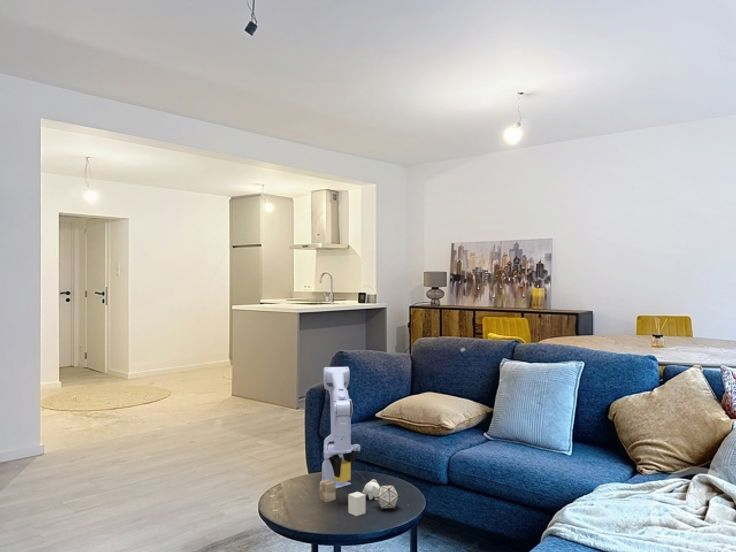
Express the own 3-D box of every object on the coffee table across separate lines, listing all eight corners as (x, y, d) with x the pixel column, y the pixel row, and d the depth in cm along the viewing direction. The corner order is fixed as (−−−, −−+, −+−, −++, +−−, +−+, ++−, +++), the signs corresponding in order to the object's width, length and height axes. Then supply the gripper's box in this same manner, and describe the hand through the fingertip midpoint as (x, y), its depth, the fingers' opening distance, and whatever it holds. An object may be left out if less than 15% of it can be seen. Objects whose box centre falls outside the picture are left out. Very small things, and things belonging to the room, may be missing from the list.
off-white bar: (348, 512, 186) (348, 494, 186) (357, 509, 189) (357, 491, 189) (356, 516, 183) (356, 497, 183) (365, 513, 186) (365, 494, 186)
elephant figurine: (364, 494, 203) (364, 477, 203) (386, 496, 201) (386, 479, 201) (359, 500, 197) (359, 483, 197) (381, 503, 194) (381, 485, 195)
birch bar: (319, 499, 198) (319, 482, 198) (328, 496, 201) (328, 479, 201) (326, 502, 195) (326, 484, 195) (335, 499, 198) (335, 482, 198)
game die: (390, 522, 188) (394, 504, 182) (368, 509, 191) (371, 492, 185) (402, 501, 195) (406, 483, 189) (380, 489, 197) (383, 472, 192)
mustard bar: (334, 479, 194) (334, 462, 194) (343, 477, 196) (343, 459, 197) (341, 482, 191) (341, 464, 191) (350, 480, 193) (350, 462, 194)
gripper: (332, 441, 186) (332, 482, 186) (365, 434, 196) (365, 473, 195) (320, 437, 192) (319, 477, 191) (352, 430, 201) (352, 468, 201)
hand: (342, 475), depth 194 cm, fingers closed on mustard bar, 4 cm apart
